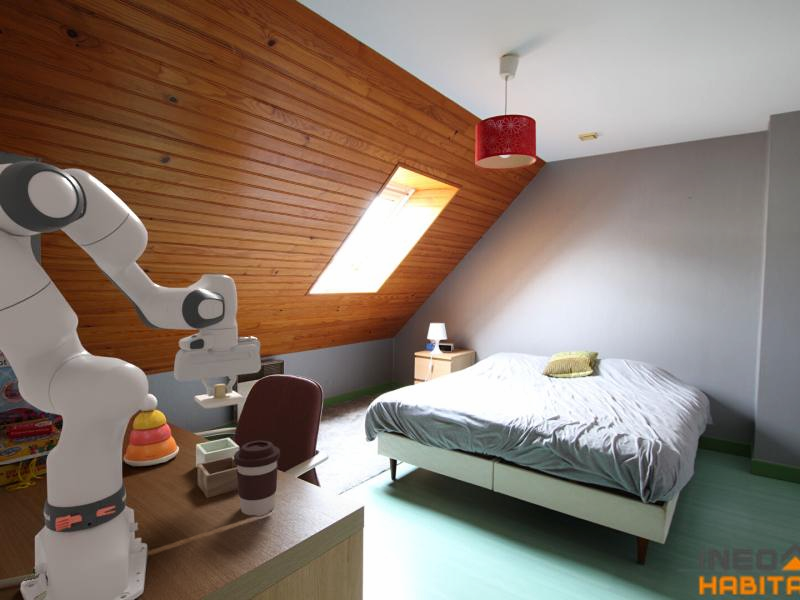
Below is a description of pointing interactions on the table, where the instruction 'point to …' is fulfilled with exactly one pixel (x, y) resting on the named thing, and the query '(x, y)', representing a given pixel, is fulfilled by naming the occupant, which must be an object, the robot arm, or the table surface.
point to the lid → (219, 398)
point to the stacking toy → (150, 437)
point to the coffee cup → (257, 477)
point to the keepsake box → (217, 476)
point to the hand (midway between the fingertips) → (219, 394)
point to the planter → (215, 450)
